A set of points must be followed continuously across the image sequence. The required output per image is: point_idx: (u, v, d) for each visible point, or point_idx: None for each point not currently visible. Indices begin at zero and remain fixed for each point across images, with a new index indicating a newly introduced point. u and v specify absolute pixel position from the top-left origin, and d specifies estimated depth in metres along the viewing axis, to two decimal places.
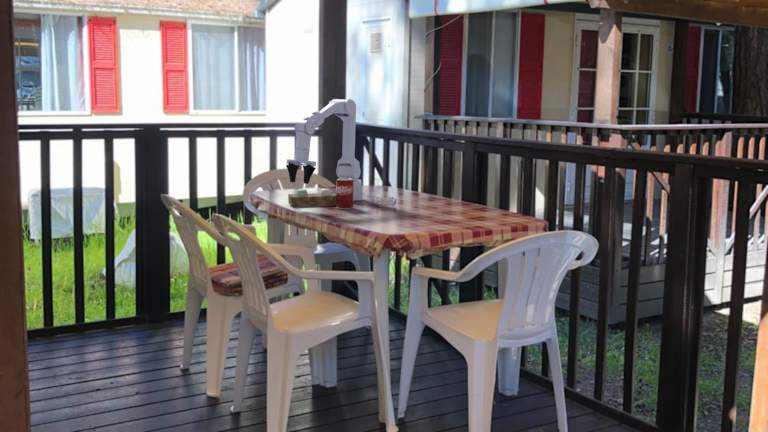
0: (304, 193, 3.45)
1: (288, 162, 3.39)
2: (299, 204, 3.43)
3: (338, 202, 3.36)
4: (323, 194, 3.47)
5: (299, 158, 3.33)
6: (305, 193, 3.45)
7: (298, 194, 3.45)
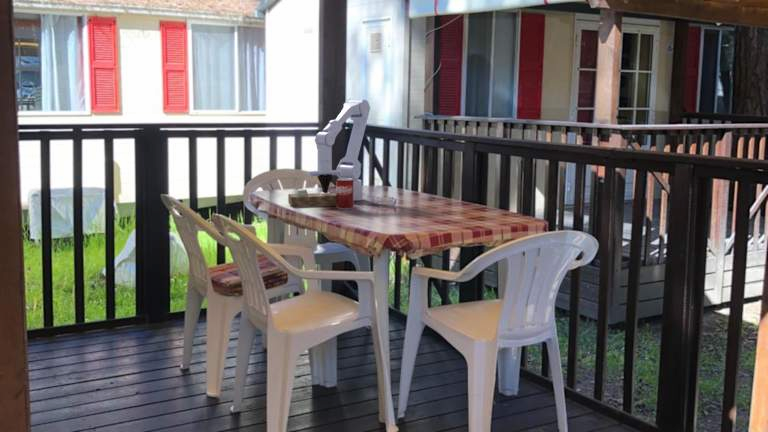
0: (304, 193, 3.45)
1: None
2: (299, 204, 3.43)
3: (338, 202, 3.36)
4: None
5: None
6: (305, 193, 3.45)
7: (298, 194, 3.45)
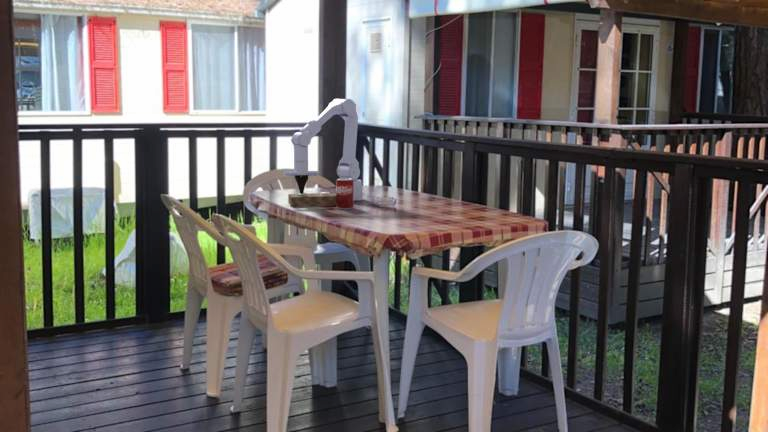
0: None
1: None
2: (299, 204, 3.43)
3: (338, 202, 3.36)
4: None
5: None
6: None
7: None
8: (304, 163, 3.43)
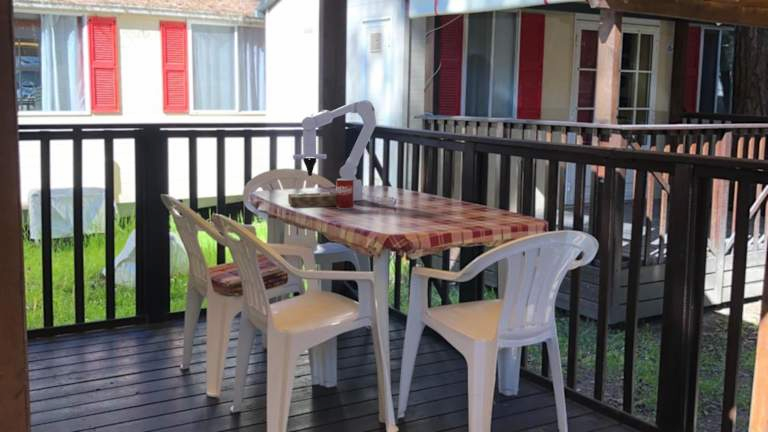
0: None
1: None
2: (299, 204, 3.43)
3: (338, 202, 3.36)
4: None
5: None
6: None
7: None
8: (312, 146, 3.59)
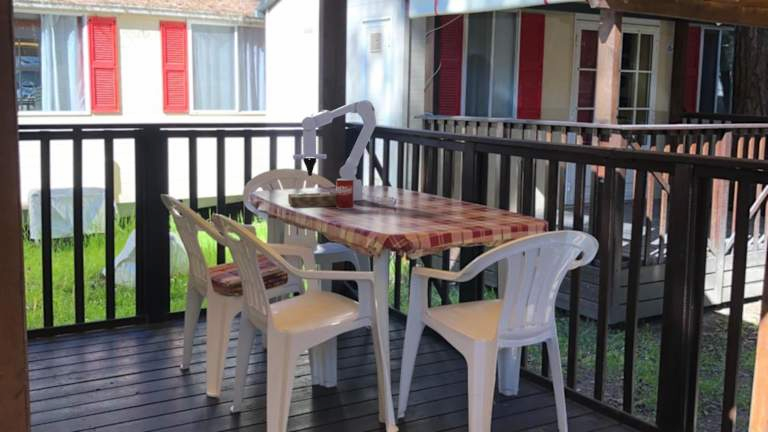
0: None
1: None
2: (299, 204, 3.43)
3: (338, 202, 3.36)
4: None
5: None
6: None
7: None
8: (312, 146, 3.59)
